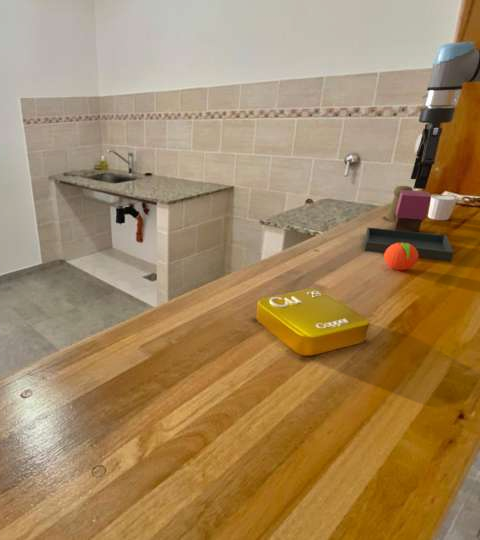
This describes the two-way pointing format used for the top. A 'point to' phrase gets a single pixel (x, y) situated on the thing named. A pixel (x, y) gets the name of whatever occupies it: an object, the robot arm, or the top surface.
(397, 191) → the cork
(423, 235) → the tray
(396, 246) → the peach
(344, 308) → the element tile
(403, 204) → the mulberry cube
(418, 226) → the walnut block
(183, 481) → the top surface
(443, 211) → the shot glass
